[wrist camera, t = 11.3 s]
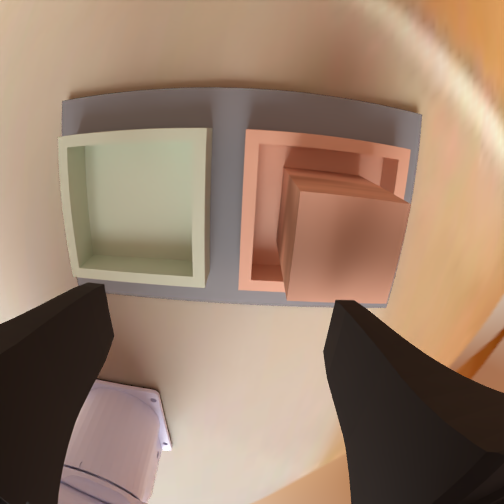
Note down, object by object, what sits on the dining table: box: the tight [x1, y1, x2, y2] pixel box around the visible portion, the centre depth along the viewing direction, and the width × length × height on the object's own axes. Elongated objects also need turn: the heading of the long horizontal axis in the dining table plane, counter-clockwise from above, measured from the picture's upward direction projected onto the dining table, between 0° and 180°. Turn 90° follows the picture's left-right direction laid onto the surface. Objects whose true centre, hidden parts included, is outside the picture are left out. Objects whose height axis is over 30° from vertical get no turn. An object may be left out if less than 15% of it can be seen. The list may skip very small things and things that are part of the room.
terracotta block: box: [276, 167, 411, 304], centre depth 13 cm, size 4×4×6 cm
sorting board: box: [58, 87, 422, 308], centre depth 15 cm, size 12×20×3 cm, turn 87°
